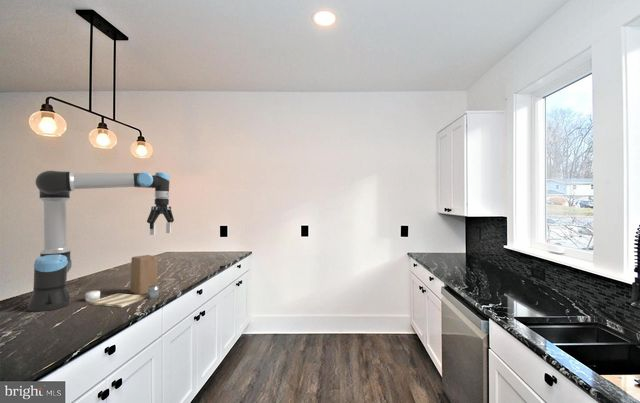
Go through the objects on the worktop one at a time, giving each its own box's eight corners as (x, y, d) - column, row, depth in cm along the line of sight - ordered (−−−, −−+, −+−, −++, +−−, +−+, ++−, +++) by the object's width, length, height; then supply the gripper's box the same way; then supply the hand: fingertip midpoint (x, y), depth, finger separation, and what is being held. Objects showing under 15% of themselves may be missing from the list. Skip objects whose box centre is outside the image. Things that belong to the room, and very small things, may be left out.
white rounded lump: (82, 301, 151) (82, 293, 151) (93, 297, 157) (93, 290, 157) (92, 302, 150) (92, 294, 150) (102, 298, 156) (103, 291, 156)
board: (89, 304, 147) (90, 302, 147) (117, 295, 163) (117, 293, 163) (121, 307, 143) (121, 305, 144) (146, 297, 159) (147, 295, 159)
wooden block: (157, 291, 170) (158, 256, 171) (138, 296, 162) (140, 258, 162) (147, 288, 176) (149, 254, 176) (129, 292, 167) (130, 256, 168)
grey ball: (145, 298, 158) (146, 287, 158) (152, 295, 163) (152, 284, 163) (154, 299, 157) (154, 287, 157) (160, 296, 162) (161, 285, 162)
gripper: (152, 197, 168) (150, 235, 168) (180, 199, 193) (179, 232, 192) (140, 197, 170) (139, 235, 169) (170, 198, 194) (169, 232, 194)
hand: (160, 233), depth 181 cm, fingers open, 13 cm apart
